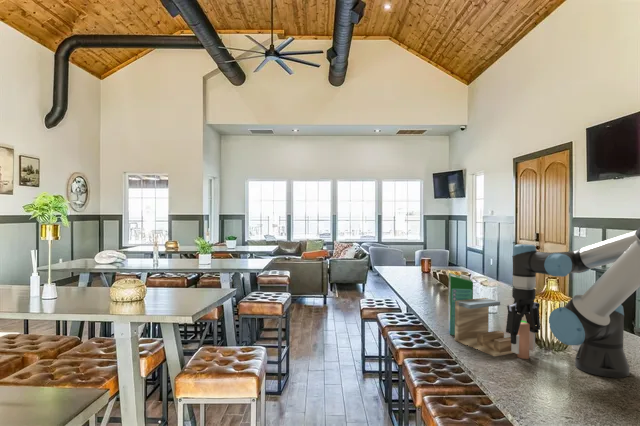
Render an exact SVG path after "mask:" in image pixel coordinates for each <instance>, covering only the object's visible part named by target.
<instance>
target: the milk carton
mask: <svg viewBox="0 0 640 426" xmlns="http://www.w3.org/2000/svg"><path fill="white" fill-rule="evenodd" d="M447 299H448V301H447V302H448V306H447V307H448V310H447V311H448V312H447V316H448V318H447V321H448V322H447V323H448V325H447V329H448V333H449V335H450V336H455V301H459V300H469V299H474V281H472V279H471V278H470V276H469V275H465V274H460V275H458V274H454V273H451V272H448V298H447Z"/></svg>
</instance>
